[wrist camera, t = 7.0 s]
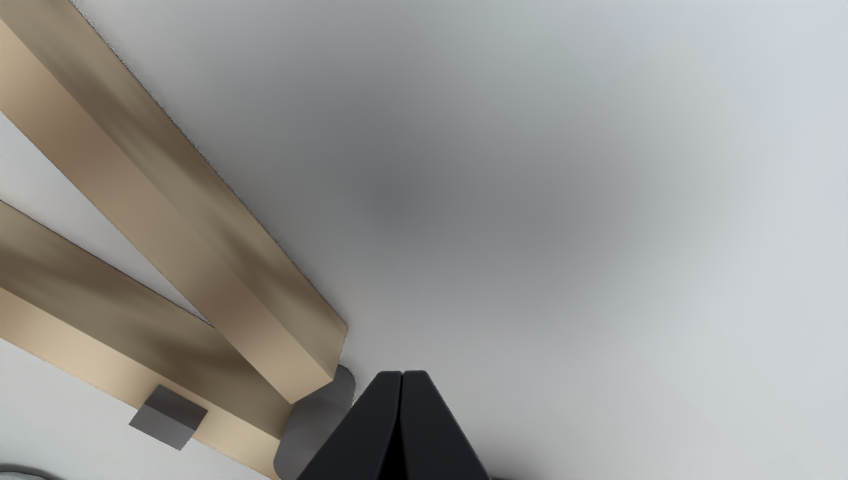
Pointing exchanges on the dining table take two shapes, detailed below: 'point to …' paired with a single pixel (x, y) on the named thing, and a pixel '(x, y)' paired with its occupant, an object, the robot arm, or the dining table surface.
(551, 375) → the dining table surface
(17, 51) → the tongs jaw
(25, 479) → the supplement can
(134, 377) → the tongs fixed arm
